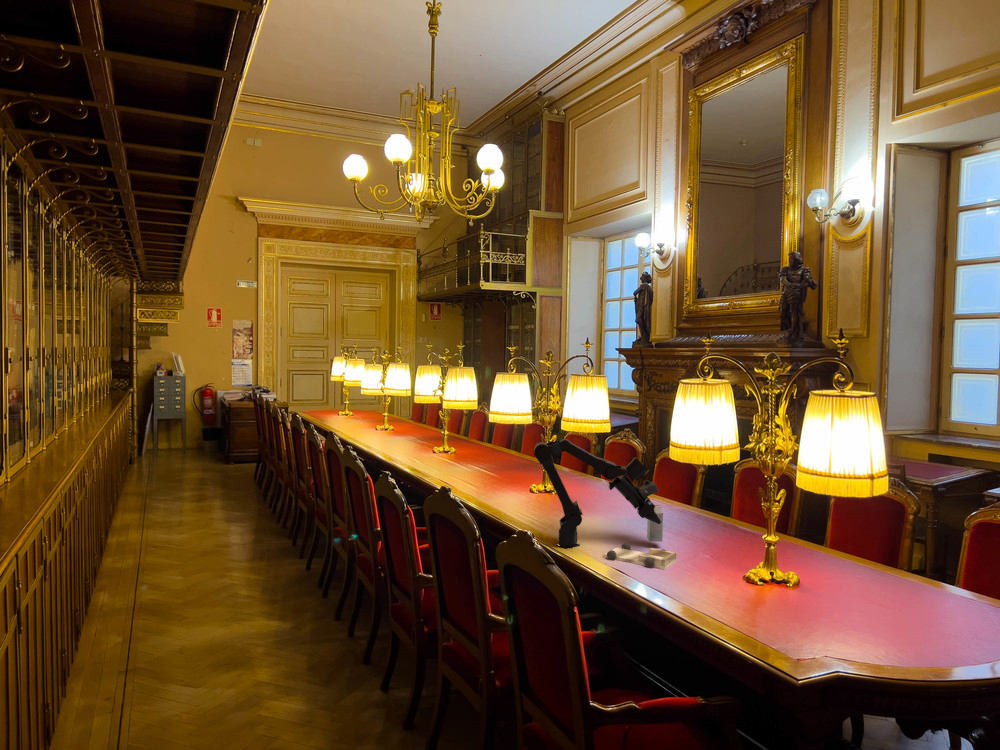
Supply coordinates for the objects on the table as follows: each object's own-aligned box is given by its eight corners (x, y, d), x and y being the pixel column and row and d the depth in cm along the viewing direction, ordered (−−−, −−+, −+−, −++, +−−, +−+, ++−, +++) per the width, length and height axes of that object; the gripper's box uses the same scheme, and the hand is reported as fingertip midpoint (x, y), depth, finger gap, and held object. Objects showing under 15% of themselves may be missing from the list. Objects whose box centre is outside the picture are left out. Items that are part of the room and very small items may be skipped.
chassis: (601, 558, 230) (601, 549, 230) (617, 549, 240) (617, 540, 240) (663, 570, 217) (663, 561, 217) (677, 560, 227) (677, 551, 227)
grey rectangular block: (649, 541, 241) (650, 507, 240) (647, 537, 246) (647, 504, 245) (662, 541, 241) (663, 508, 240) (659, 537, 246) (660, 504, 245)
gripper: (649, 479, 233) (681, 512, 233) (640, 469, 252) (670, 500, 252) (626, 501, 234) (657, 534, 234) (618, 490, 253) (648, 520, 252)
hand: (658, 521), depth 243 cm, fingers closed on grey rectangular block, 5 cm apart
